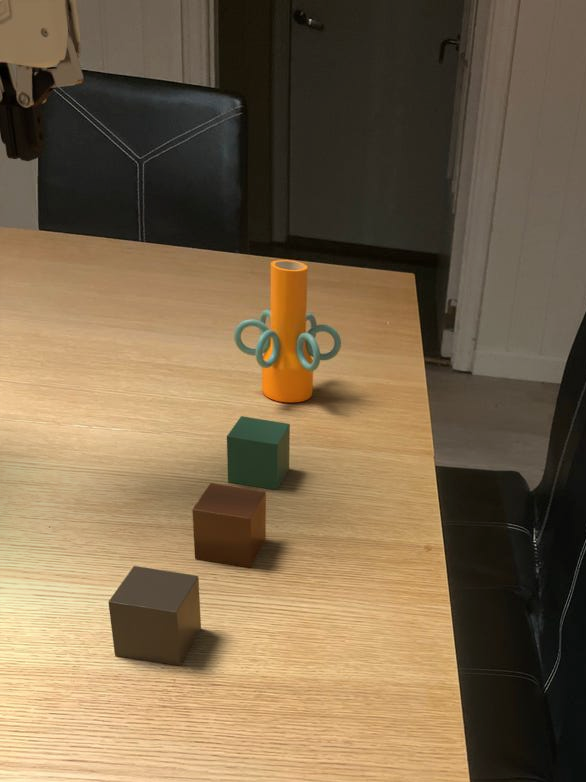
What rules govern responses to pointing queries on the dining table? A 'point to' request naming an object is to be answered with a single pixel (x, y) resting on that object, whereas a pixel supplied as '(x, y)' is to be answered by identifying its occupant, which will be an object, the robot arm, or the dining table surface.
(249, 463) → the teal block
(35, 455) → the dining table surface
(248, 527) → the walnut block
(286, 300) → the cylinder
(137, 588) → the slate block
